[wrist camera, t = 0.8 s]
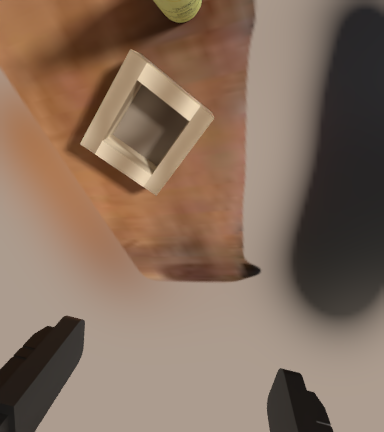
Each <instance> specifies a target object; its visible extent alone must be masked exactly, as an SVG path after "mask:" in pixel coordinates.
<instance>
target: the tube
mask: <svg viewBox="0 0 384 432" xmlns="http://www.w3.org/2000/svg"><path fill="white" fill-rule="evenodd" d="M153 1H154V2H155V3H156V5H157V6H158V7H159V8H160V10H161V11H162V12H163V13H164V15H165V16H166V17H167V18H169V19H170V20H172V21H174V22H178V23H183V22H187V21H189V20H190V19H192V18H193V17H194V16H195V15H196V14H197V12H198V11H199V8H200V6H201V3H202V0H153Z"/></svg>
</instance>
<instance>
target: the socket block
mask: <svg viewBox="0 0 384 432" xmlns="http://www.w3.org/2000/svg"><path fill="white" fill-rule="evenodd" d="M213 119H214V115H213V113H212V112H211V111H210V110H209V109H207V108H206V107H205V106H204V105H202V104H201V103H200V102H199V101H198V100H196V99H195V98H194V97H193V96H192V95H190V94H189V93H188V92H187V91H185V90H184V89H183V88H182V87H181V86H179V85H178V84H177V83H176V82H175V81H173V80H172V79H171V78H170V77H169V76H167V75H166V74H165V73H164V72H162V71H161V70H160V69H159V68H158V67H156V66H155V65H154V64H153V63H152V62H150V61H149V60H148V59H147V58H145V57H144V56H143V55H142V54H140V53H138V52H136V51H134V50H132V49H130V51H129V53H128V55H127V57H126V59H125V60H124V62H123V64H122V66H121V68H120V70H119V72H118V74H117V75H116V77H115V79H114V81H113V83H112V85H111V87H110V89H109V90H108V92H107V94H106V96H105V98H104V100H103V102H102V104H101V105H100V107H99V109H98V111H97V113H96V115H95V117H94V119H93V120H92V122H91V124H90V126H89V128H88V130H87V132H86V134H85V135H84V137H83V139H82V141H81V143H80V144H81V145H82V146H84V147H85V148H87V149H88V150H89V151H91V152H92V153H94V154H95V155H97V156H98V157H100V158H101V159H103V160H104V161H106V162H107V163H109V164H110V165H112V166H113V167H115V168H116V169H118V170H119V171H121V172H122V173H123V174H125V175H126V176H128V177H129V178H131V179H132V180H134V181H135V182H137V183H138V184H140V185H141V186H143V187H144V188H146V189H147V190H149V191H150V192H152V193H153V194H155V195H156V196H157V194H158V193H159V192H160V190H161V189H162V188H163V186H164V185H165V184H166V182H167V181H168V180H169V178H170V177H171V176H172V174H173V173H174V171H175V170H176V169H177V167H178V166H179V165H180V163H181V162H182V161H183V159H184V158H185V157H186V155H187V154H188V153H189V151H190V150H191V149H192V147H193V146H194V145H195V143H196V142H197V141H198V139H199V138H200V137H201V135H202V134H203V133H204V131H205V130H206V129H207V127H208V126H209V125H210V123H211V122H212V120H213Z"/></svg>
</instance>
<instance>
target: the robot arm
mask: <svg viewBox="0 0 384 432" xmlns="http://www.w3.org/2000/svg"><path fill="white" fill-rule="evenodd" d="M84 328H85V321H84V320H82V319H78V318H74V317H70V316H64V317H63V318H62V319H61V320H60V322H58V324H57V325H56V326H55V327H50V326H47V327H45V328H43V329H42V330H40V331H38V332H37V333H35V334H34V335H33V336H32V337H31V338H30V339H29V340H28V341H27V342H26V343H25V344H24V345H23V347H22V348H20V349H19V350H18V351H17V352H16V353H15V354H14V357H12V358H11V359H10V360H9V361H8V362H7V363H6V364H5V365H4V366H3V367H2V368H1V369H0V432H35V430H36V429H37V427H38V425H39V424H40V422H41V421H42V419H43V418H44V416H45V415H46V413H47V411H48V409H49V408H50V407H51V405H52V404H53V402H54V400H55V399H56V397H57V396H58V394H59V393H60V391H61V389H62V388H63V386H64V385H65V383H66V382H67V380H68V378H69V377H70V375H71V374H72V372H73V371H74V369H75V367H76V366H77V364H78V362H79V360H80V358H81V355H82V352H83V346H84V345H83V344H84ZM267 414H268V421H269V427H270V432H333V429H332V427H331V426H330V421H329V418H328V415H327V413H326V410H325V407H324V406H323V404H322V403H321V402H320V401H319V399H318V397H317V396H316V394H315V393H314V392H310V391H307V390H306V387H305V384H304V380H303V377H302V375H301V374H300V373H297V372H293V371H289V370H285V369H281V368H280V369H279V370H278V372H277V375H276V378H275V380H274V383H273V385H272V388H271V390H270V393H269V396H268V402H267Z"/></svg>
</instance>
